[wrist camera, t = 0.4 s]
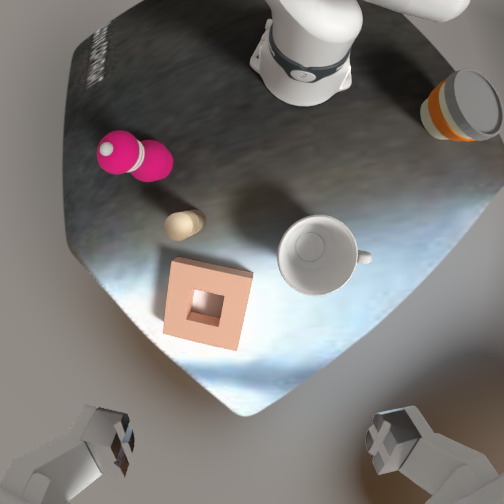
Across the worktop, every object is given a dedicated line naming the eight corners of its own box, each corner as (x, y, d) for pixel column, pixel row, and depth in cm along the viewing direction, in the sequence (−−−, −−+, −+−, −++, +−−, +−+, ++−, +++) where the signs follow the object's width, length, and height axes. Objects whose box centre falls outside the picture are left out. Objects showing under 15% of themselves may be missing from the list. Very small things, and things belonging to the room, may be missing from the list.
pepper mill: (136, 179, 51) (74, 173, 32) (144, 141, 50) (87, 118, 30) (171, 186, 52) (121, 181, 32) (180, 147, 50) (135, 121, 31)
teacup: (352, 281, 53) (369, 298, 43) (272, 276, 54) (274, 294, 44) (359, 215, 51) (379, 220, 41) (277, 209, 52) (280, 211, 42)
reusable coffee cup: (459, 101, 45) (501, 84, 31) (460, 155, 48) (506, 148, 33) (412, 82, 46) (449, 55, 31) (411, 138, 48) (454, 124, 33)
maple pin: (186, 207, 52) (166, 210, 41) (207, 211, 52) (193, 215, 41) (182, 229, 53) (162, 237, 42) (203, 233, 53) (188, 243, 42)
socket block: (178, 256, 54) (171, 261, 50) (253, 272, 54) (252, 278, 50) (169, 324, 56) (162, 333, 52) (238, 341, 56) (236, 350, 52)
